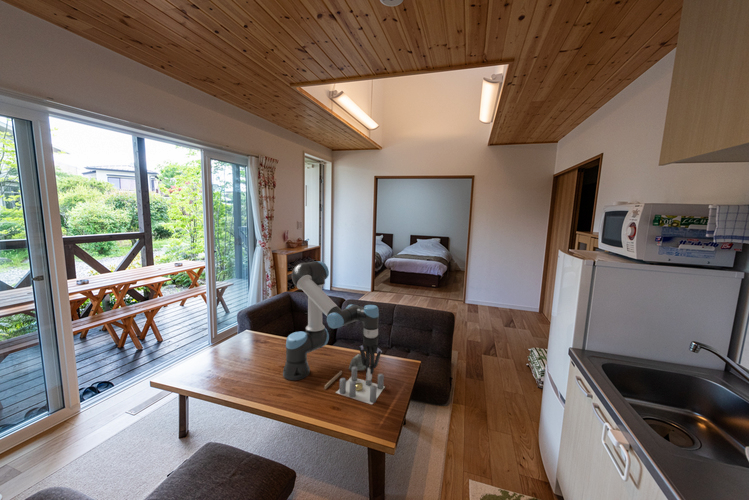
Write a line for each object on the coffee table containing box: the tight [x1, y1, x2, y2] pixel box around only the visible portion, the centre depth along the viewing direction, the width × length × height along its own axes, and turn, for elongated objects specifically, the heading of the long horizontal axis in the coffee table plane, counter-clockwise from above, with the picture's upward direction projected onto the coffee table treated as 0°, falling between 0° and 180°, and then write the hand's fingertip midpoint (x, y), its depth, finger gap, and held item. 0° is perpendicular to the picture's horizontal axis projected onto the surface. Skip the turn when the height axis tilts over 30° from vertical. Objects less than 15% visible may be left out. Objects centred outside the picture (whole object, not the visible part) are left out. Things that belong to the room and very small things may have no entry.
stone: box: [348, 353, 366, 372], centre depth 174 cm, size 10×10×10 cm
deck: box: [323, 367, 386, 405], centre depth 153 cm, size 29×17×8 cm, turn 66°
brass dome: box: [356, 383, 363, 391], centre depth 152 cm, size 4×4×2 cm
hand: (369, 378), depth 149 cm, fingers closed
